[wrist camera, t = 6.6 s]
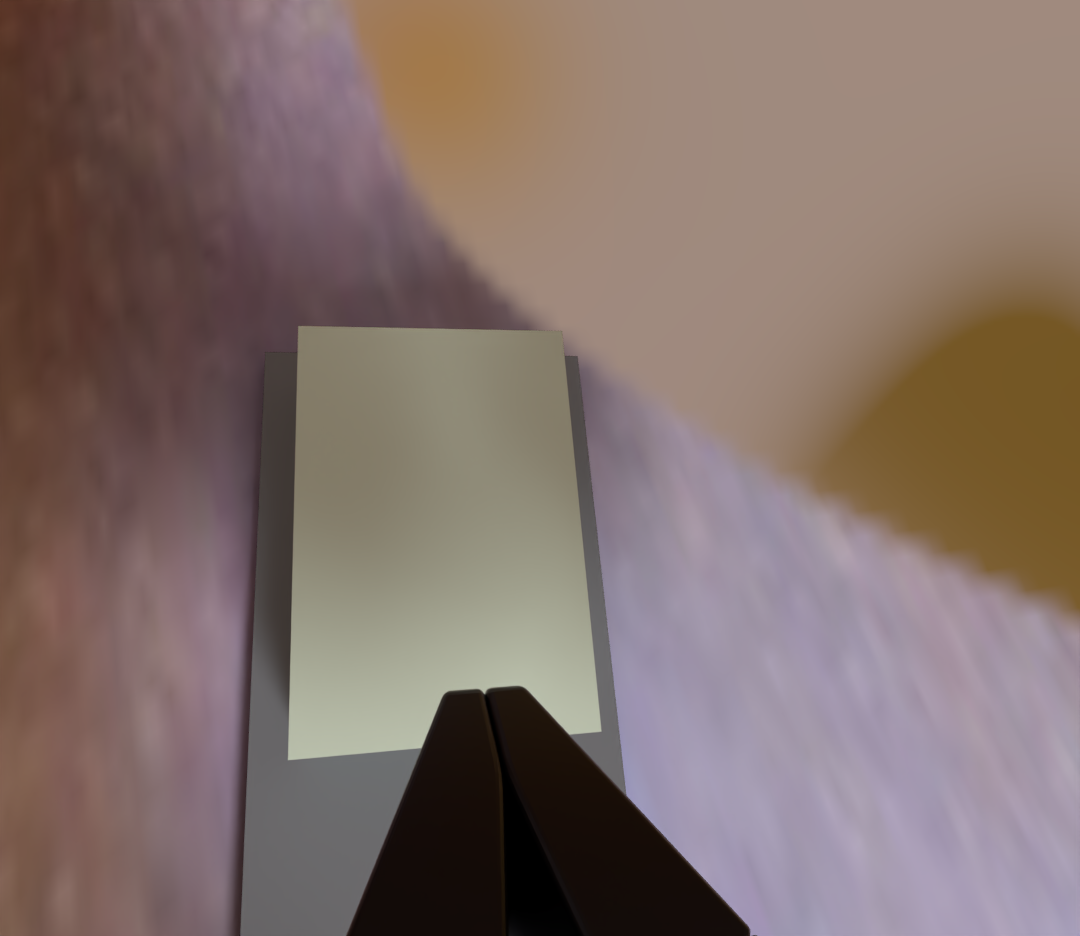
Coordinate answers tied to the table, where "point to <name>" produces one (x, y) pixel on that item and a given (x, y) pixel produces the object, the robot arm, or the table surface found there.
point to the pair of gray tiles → (358, 779)
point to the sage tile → (432, 534)
